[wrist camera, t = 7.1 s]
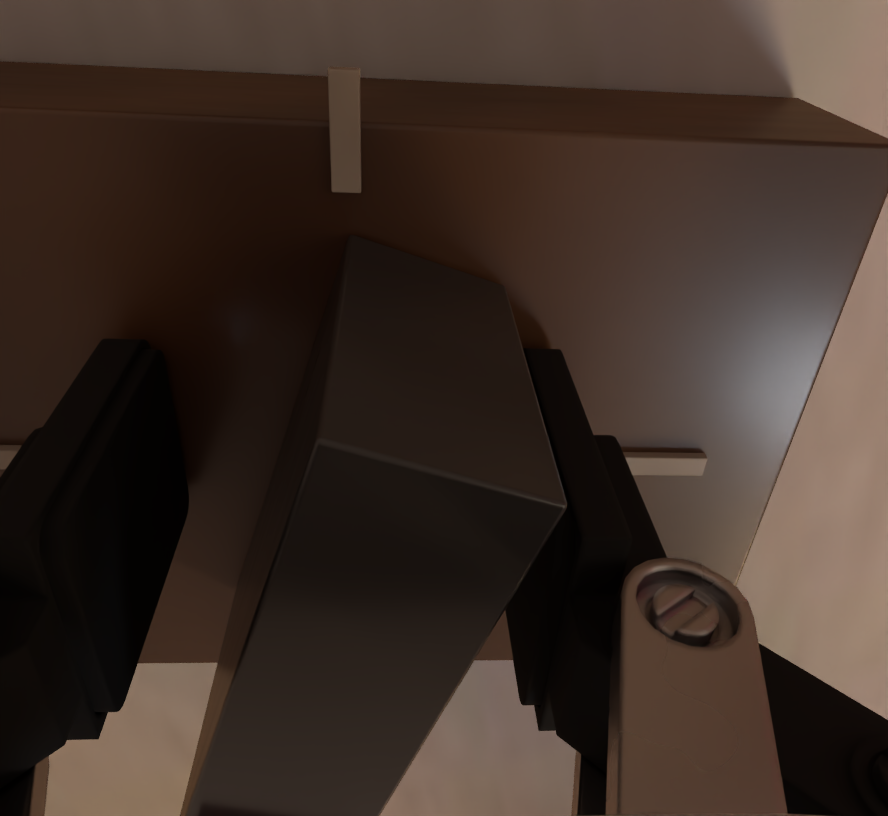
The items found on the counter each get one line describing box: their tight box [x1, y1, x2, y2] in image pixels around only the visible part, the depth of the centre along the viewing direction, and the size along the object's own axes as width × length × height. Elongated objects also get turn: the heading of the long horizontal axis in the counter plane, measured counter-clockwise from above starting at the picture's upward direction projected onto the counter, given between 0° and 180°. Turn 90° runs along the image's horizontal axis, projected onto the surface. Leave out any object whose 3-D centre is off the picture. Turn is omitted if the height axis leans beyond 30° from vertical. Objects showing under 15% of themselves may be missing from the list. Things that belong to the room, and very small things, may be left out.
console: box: [0, 61, 888, 663], centre depth 13 cm, size 14×11×3 cm
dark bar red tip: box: [180, 235, 567, 816], centre depth 9 cm, size 7×2×5 cm, turn 159°
